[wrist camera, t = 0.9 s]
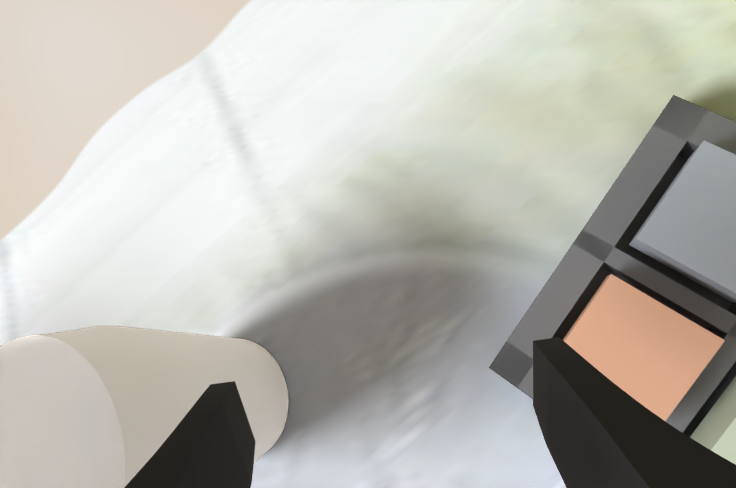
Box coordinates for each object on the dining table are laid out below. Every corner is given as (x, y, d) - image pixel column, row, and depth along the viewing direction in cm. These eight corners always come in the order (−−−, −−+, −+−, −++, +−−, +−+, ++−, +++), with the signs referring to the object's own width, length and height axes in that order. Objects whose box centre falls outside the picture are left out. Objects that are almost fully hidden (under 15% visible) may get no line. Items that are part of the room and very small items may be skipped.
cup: (207, 292, 30) (-4, 290, 19) (334, 359, 27) (167, 404, 16) (154, 431, 31) (-82, 509, 20) (273, 515, 27) (69, 665, 16)
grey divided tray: (1032, 282, 18) (1101, 280, 15) (795, 572, 19) (826, 610, 17) (663, 115, 22) (673, 95, 20) (497, 360, 24) (488, 367, 22)
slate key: (798, 210, 19) (830, 197, 16) (731, 301, 19) (753, 302, 17) (688, 158, 20) (703, 140, 18) (628, 244, 21) (635, 238, 18)
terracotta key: (706, 335, 19) (724, 340, 17) (643, 421, 20) (653, 437, 17) (606, 276, 21) (611, 273, 18) (550, 357, 21) (547, 364, 19)
